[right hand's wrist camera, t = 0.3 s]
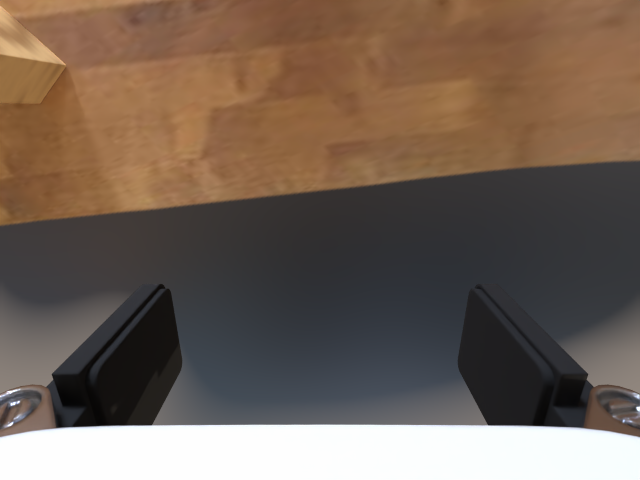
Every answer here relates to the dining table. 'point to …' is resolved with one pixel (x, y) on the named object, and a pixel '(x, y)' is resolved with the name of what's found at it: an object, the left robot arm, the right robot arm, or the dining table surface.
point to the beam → (24, 64)
